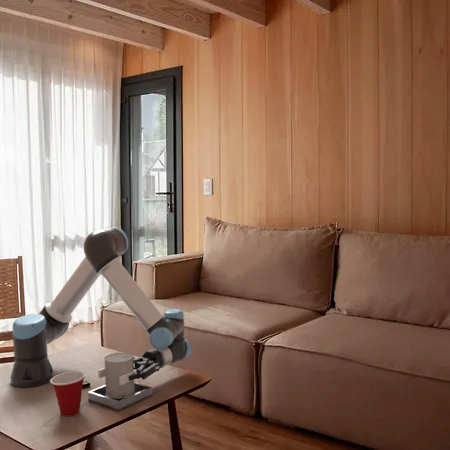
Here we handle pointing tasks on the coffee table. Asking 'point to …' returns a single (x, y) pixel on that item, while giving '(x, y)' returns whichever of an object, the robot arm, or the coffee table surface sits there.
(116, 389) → the speckled white cylinder
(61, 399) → the plastic cup
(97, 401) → the grey square tray
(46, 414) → the coffee table surface
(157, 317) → the robot arm
